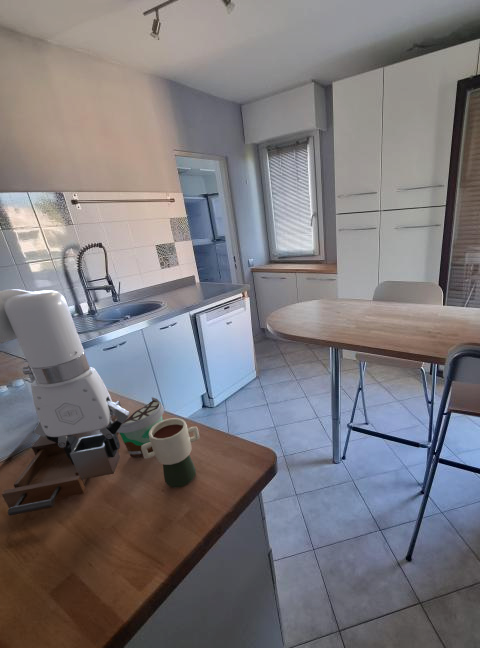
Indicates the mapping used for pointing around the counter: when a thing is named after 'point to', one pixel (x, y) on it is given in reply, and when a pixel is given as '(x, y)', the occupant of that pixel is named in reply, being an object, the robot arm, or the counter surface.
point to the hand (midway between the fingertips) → (96, 455)
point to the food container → (141, 427)
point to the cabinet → (45, 443)
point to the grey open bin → (93, 457)
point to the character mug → (172, 450)
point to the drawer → (44, 482)
